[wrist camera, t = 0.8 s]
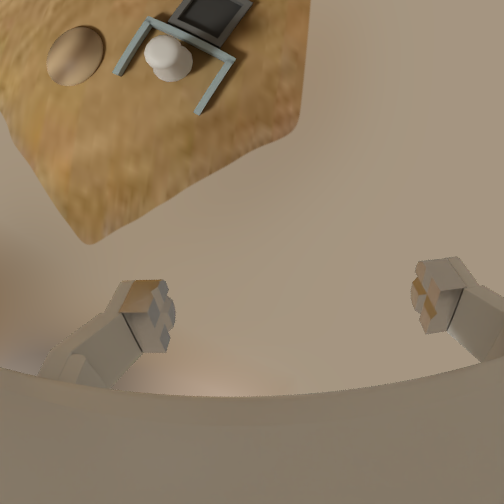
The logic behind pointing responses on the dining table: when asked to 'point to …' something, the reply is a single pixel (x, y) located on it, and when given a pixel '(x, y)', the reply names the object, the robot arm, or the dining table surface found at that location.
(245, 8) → the hole frame
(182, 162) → the dining table surface
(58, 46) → the cork trivet
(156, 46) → the salt shaker
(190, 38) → the cubby bay
